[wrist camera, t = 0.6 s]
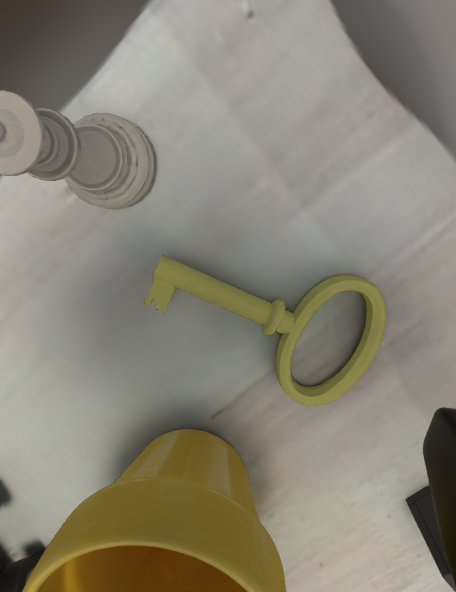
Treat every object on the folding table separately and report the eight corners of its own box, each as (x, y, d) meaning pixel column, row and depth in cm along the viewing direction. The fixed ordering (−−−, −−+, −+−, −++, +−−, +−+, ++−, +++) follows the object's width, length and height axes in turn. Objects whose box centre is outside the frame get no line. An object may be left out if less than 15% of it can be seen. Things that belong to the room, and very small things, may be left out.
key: (155, 249, 21) (144, 254, 19) (391, 278, 21) (405, 286, 19) (146, 374, 23) (135, 392, 21) (365, 405, 22) (375, 426, 20)
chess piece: (150, 112, 20) (42, 24, 10) (163, 203, 21) (74, 201, 11) (66, 124, 20) (-115, 49, 11) (81, 213, 21) (-72, 218, 12)
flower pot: (230, 577, 26) (210, 797, 16) (83, 504, 25) (-26, 683, 16) (312, 451, 23) (346, 622, 14) (151, 368, 23) (71, 484, 13)
